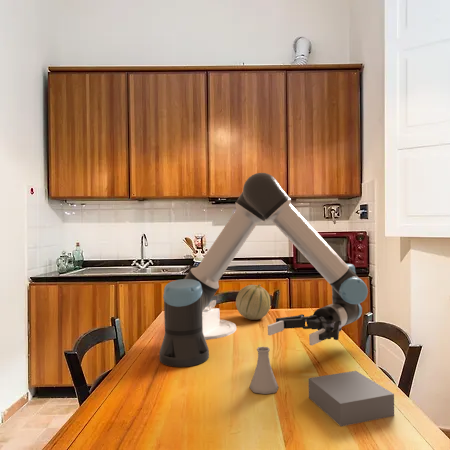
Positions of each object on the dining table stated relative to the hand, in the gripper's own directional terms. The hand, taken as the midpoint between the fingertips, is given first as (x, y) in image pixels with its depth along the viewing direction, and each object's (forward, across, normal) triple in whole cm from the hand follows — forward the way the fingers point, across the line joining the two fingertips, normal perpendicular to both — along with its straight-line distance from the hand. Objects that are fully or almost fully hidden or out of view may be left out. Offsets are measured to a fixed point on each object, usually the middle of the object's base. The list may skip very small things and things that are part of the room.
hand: (288, 335), depth 100 cm
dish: (-14, +50, -11) cm, 53 cm away
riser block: (+4, -19, -12) cm, 23 cm away
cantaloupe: (-38, +46, -11) cm, 60 cm away
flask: (+10, +1, -11) cm, 15 cm away
